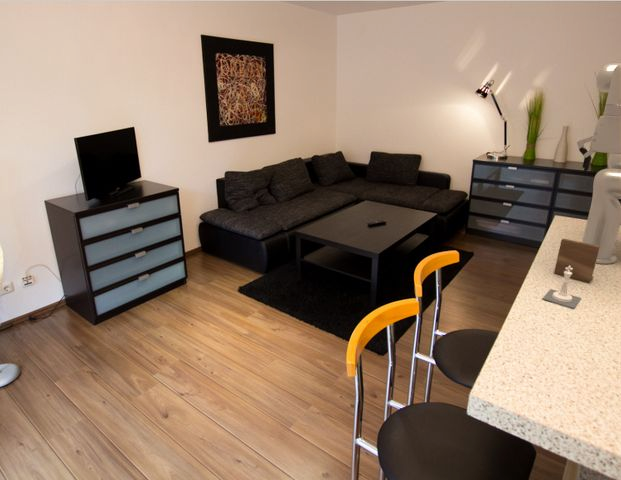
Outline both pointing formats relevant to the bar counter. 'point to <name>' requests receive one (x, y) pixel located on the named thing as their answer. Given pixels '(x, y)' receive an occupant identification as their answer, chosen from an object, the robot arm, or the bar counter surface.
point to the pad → (570, 304)
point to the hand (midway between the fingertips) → (605, 172)
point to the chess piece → (564, 287)
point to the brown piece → (577, 259)
